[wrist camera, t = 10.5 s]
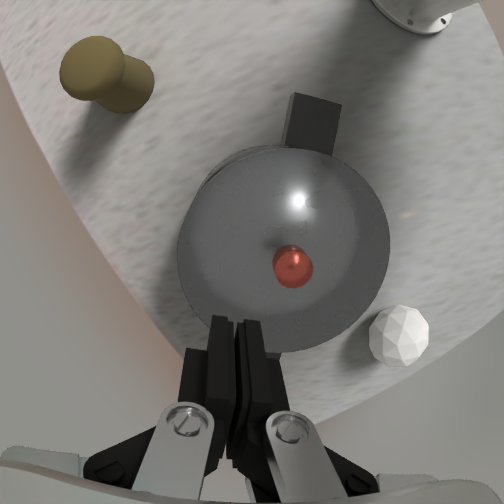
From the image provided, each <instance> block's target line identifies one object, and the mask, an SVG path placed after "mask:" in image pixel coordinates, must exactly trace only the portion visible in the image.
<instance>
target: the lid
mask: <svg viewBox="0 0 504 504" xmlns="http://www.w3.org/2000/svg"><path fill="white" fill-rule="evenodd" d="M389 254H390V235H389V227H388V223H387V219H386V215H385V212H384V210H383V207H382V205H381V203H380V201H379V199H378V197H377V196H376V194H375V192H374V191H373V189H372V188H371V187H370V185H369V184H368V183H367V182H366V181H365V179H364V178H362V177H361V176H360V175H359V174H358V173H357V172H356V171H355V170H354V169H352V168H351V167H349V166H348V165H346V164H345V163H343V162H341V161H339V160H337V159H335V158H333V157H331V156H329V155H326V154H322V153H319V152H316V151H311V150H305V149H298V148H279V149H271V150H265V151H261V152H258V153H254V154H251V155H249V156H246V157H244V158H242V159H239V160H237V161H236V162H234V163H232V164H231V165H229V166H227V167H226V168H224V169H223V170H222V171H220V172H219V173H218V174H217V175H215V176H214V177H213V178H212V179H211V180H210V181H209V182H208V183H207V184H206V185H205V186H204V187H203V189H202V190H201V191H200V193H199V194H198V196H197V197H196V198H195V200H194V201H193V203H192V205H191V207H190V209H189V211H188V213H187V215H186V217H185V220H184V223H183V226H182V229H181V232H180V237H179V242H178V253H177V263H178V273H179V277H180V281H181V285H182V288H183V291H184V293H185V296H186V298H187V300H188V302H189V304H190V305H191V307H192V309H193V310H194V312H195V313H196V314H197V315H198V317H199V318H200V319H201V320H202V321H203V322H204V323H205V324H206V325H207V326H208V327H209V328H210V326H211V319H212V315H218V316H225V317H228V321H232V322H233V323H234V337H235V332H236V327H237V323H238V322H240V323H243V321H244V319H248V320H256V321H260V323H261V329H262V335H263V341H264V347H265V352H269V353H284V352H294V351H299V350H304V349H308V348H311V347H314V346H317V345H319V344H322V343H324V342H326V341H329V340H330V339H332V338H334V337H336V336H337V335H339V334H340V333H342V332H343V331H345V330H346V329H347V328H349V327H350V326H351V325H352V324H353V323H354V322H356V321H357V320H358V319H359V318H360V317H361V315H362V314H363V313H364V312H365V311H366V310H367V309H368V307H369V306H370V304H371V303H372V301H373V300H374V298H375V297H376V295H377V293H378V291H379V289H380V287H381V285H382V282H383V280H384V277H385V274H386V270H387V266H388V261H389Z"/></svg>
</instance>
